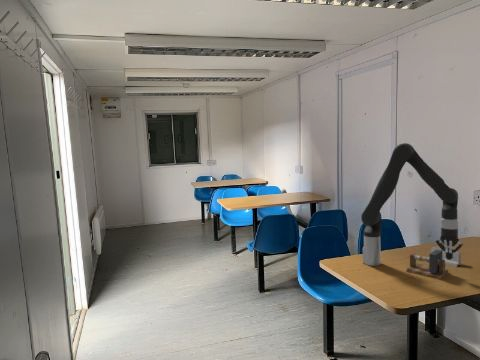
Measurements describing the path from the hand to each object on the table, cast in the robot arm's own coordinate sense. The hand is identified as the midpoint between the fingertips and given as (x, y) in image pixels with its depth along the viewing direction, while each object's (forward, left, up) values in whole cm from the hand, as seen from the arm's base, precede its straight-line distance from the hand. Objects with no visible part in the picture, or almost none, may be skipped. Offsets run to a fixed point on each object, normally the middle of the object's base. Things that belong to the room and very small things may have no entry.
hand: (449, 259), depth 179 cm
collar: (-6, 0, -8) cm, 10 cm away
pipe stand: (-11, 0, -10) cm, 14 cm away
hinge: (-9, +22, -10) cm, 26 cm away
